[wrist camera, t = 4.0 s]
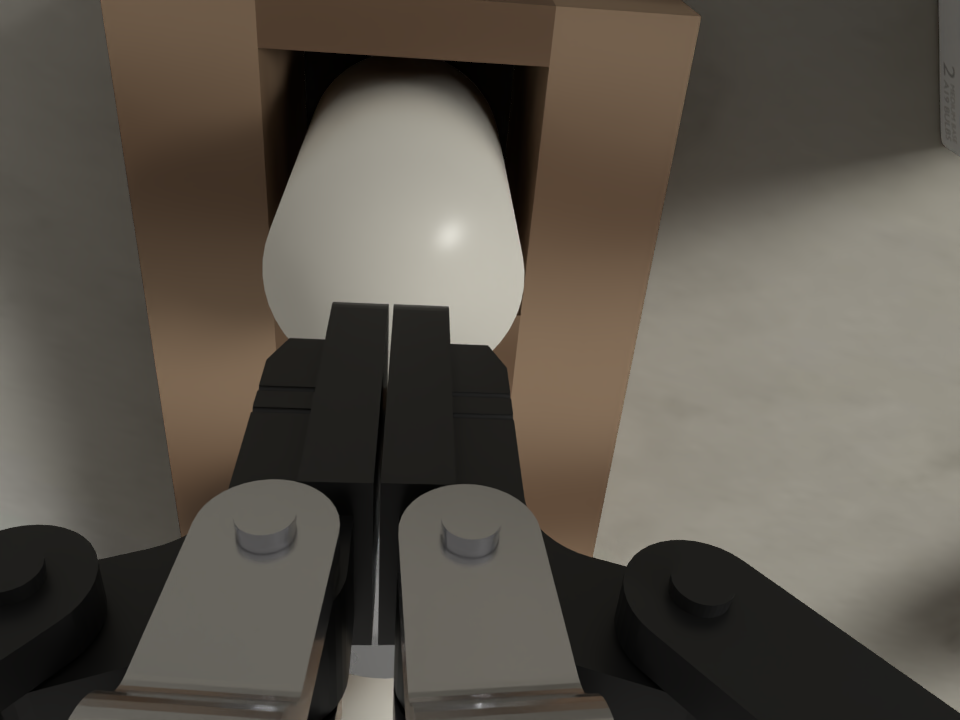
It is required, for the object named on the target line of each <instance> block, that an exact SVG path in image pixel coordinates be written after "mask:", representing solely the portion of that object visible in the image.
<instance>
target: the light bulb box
mask: <svg viewBox="0 0 960 720" xmlns="http://www.w3.org/2000/svg"><path fill="white" fill-rule="evenodd" d="M939 62H940V120H941V140H942V143H943V145H944V146H946V147H947V148H948V149H950V150H951V151H953V152H954V153H956V154H957V155H959V156H960V0H939Z"/></svg>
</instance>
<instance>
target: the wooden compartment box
mask: <svg viewBox="0 0 960 720" xmlns="http://www.w3.org/2000/svg"><path fill="white" fill-rule="evenodd" d="M100 1H101V8H102V14H103V21H104V28H105V34H106V41H107V48H108V54H109V61H110V68H111V74H112V81H113V88H114V94H115V101H116V108H117V114H118V121H119V127H120V134H121V141H122V147H123V154H124V161H125V167H126V174H127V181H128V187H129V194H130V201H131V207H132V214H133V220H134V227H135V234H136V240H137V247H138V254H139V260H140V267H141V274H142V280H143V287H144V294H145V300H146V307H147V314H148V320H149V327H150V333H151V340H152V347H153V353H154V360H155V367H156V373H157V380H158V387H159V393H160V400H161V407H162V413H163V420H164V426H165V433H166V440H167V446H168V453H169V460H170V466H171V473H172V480H173V486H174V493H175V500H176V506H177V513H178V519H179V526H180V533H181V538H182V537H184V536H186V535H187V534H188V531H189V529H190V527H191V524H192V522H193V520H194V519H195V517H196V515H197V513H198V512H199V511H200V510H201V509H202V507H203V506H204V505H205V504H206V503H208V502H209V501H210V500H211V499H212V498H214V497H215V496H217V495H219V494H220V493H222V492H224V491H226V490H228V488H229V485H230V481H231V478H232V475H233V471H234V468H235V464H236V461H237V458H238V454H239V451H240V447H241V444H242V441H243V437H244V434H245V430H246V427H247V424H248V420H249V417H250V413H251V412H252V410H253V403H254V400H255V396H256V393H257V390H259V383H260V380H261V376H262V373H263V369H264V366H265V363H266V359H267V358H269V357H270V356H271V355H272V354H273V353H274V352H275V351H276V350H277V349H278V348H279V347H280V346H281V345H283V344H284V343H285V342H286V341H287V340H288V337H287V336H286V335H285V334H284V333H283V331H282V329H281V328H280V326H279V325H278V323H277V321H276V320H275V318H274V315H273V313H272V311H271V309H270V307H269V304H268V300H267V297H266V293H265V289H264V282H263V255H264V248H265V243H266V240H267V237H268V234H269V231H270V228H271V225H272V223H273V220H274V217H275V215H276V212H277V210H278V207H279V204H280V202H281V199H282V196H283V194H284V191H285V188H286V186H287V183H288V180H289V178H290V175H291V173H292V170H293V167H294V165H295V162H296V159H297V157H298V154H299V151H300V149H301V146H302V143H303V141H304V138H305V136H306V133H307V115H306V84H305V53H304V51H314V52H329V53H344V54H359V55H375V56H390V57H405V58H420V59H435V60H451V61H466V62H481V63H496V64H511V65H514V71H513V82H512V93H511V103H510V114H509V125H508V135H507V146H506V156H505V169H506V174H507V179H508V184H509V189H510V194H511V199H512V204H513V209H514V214H515V219H516V225H517V230H518V235H519V240H520V245H521V250H522V255H523V263H524V289H523V294H522V300H521V304H520V306H519V309H518V312H517V315H516V317H515V319H514V321H513V323H512V325H511V327H510V329H509V331H508V332H507V333H506V335H505V336H504V338H503V339H502V341H501V342H500V343H499V344H498V345H497V346H496V347H495V348H494V350H493V352H494V353H495V354H496V355H497V357H498V358H499V359H500V360H501V361H502V363H503V364H504V365H505V366H506V367H507V372H508V379H509V386H510V398H511V401H512V409H513V420H514V423H515V431H516V438H517V446H518V453H519V461H520V468H521V475H522V483H523V490H524V498H525V502H526V506H527V508H528V509H529V510H530V511H531V512H532V513H533V515H534V516H535V518H536V519H537V521H538V524H539V526H540V529H541V530H542V531H543V532H544V533H545V534H547V535H548V536H549V537H551V538H552V539H553V540H554V541H556V542H558V543H559V544H561V545H563V546H564V547H566V548H568V549H571V550H573V551H575V552H577V553H580V554H583V555H586V556H589V557H593V552H594V547H595V542H596V537H597V532H598V527H599V522H600V517H601V513H602V508H603V503H604V498H605V493H606V488H607V483H608V478H609V473H610V468H611V463H612V458H613V453H614V448H615V443H616V438H617V433H618V428H619V423H620V418H621V413H622V408H623V403H624V398H625V393H626V388H627V384H628V379H629V374H630V369H631V364H632V359H633V354H634V349H635V344H636V339H637V334H638V329H639V324H640V319H641V314H642V309H643V304H644V299H645V294H646V289H647V284H648V279H649V274H650V269H651V264H652V259H653V255H654V250H655V245H656V240H657V235H658V230H659V225H660V220H661V215H662V210H663V205H664V200H665V195H666V190H667V185H668V180H669V175H670V170H671V165H672V160H673V155H674V150H675V145H676V140H677V135H678V130H679V125H680V121H681V116H682V111H683V106H684V101H685V96H686V91H687V86H688V81H689V76H690V71H691V66H692V61H693V56H694V51H695V46H696V41H697V36H698V31H699V26H700V21H701V16H700V15H699V14H698V13H696V12H695V11H694V10H693V9H691V8H690V7H689V6H688V5H686V4H685V3H684V2H683V1H682V0H100Z"/></svg>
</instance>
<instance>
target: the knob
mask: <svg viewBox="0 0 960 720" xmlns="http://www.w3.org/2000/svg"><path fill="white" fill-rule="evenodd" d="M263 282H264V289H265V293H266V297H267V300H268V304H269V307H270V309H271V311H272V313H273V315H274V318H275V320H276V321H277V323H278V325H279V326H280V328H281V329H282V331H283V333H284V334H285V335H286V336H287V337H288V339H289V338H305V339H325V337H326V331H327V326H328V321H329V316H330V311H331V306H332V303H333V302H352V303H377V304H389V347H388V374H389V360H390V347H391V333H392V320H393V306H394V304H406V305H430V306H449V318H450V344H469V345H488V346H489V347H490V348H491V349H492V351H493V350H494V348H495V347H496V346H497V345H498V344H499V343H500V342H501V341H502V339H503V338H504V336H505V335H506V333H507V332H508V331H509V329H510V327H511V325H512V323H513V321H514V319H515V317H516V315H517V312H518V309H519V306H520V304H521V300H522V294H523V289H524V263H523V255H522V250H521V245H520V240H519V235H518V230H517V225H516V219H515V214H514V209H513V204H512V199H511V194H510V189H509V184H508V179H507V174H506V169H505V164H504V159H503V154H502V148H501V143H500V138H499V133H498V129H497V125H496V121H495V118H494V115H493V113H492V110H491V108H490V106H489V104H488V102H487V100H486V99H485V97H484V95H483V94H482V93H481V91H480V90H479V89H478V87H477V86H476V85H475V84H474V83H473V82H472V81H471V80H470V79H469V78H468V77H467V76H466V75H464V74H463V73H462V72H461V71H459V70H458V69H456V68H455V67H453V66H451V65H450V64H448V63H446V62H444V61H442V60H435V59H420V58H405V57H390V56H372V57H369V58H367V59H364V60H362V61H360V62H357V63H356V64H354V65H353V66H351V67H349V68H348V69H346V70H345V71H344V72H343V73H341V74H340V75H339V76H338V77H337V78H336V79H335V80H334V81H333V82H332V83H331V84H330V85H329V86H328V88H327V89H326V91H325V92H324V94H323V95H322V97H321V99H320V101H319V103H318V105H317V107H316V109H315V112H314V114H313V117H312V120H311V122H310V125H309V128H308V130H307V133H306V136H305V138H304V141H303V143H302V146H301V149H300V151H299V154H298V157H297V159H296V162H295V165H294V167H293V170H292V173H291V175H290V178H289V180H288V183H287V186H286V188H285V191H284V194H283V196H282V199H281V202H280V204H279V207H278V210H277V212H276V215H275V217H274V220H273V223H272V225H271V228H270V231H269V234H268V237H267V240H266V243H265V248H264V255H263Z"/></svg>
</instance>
